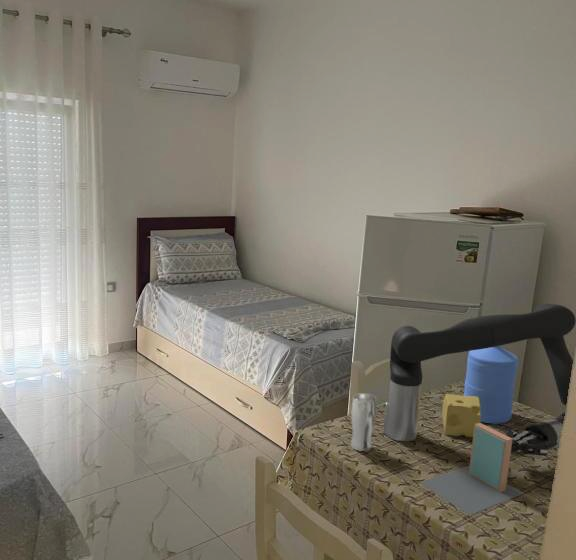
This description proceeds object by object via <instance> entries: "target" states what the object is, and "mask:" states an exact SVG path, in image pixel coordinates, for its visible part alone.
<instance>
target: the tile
mask: <svg viewBox="0 0 576 560" xmlns="http://www.w3.org/2000/svg"><path fill="white" fill-rule="evenodd" d="M511 446H512V438H510V437H508V436H506V434H504V433H503V432H502V433H501V432H500V431H498V430H496V429H493V428H491V427H490V426H487V425H485V424H483V423H482V422H480V423H477V424H475V426H474V434H473V437H472V444H471V450H470V451H471V454H470V460H469V465H470V468H469V474H470V475H472V476H474V477H475V478H477V479H479V480H480V481H482V482H484V483H485V484H487V485H489V486H490V487H492V488H494V489H496V490H497V491H499V492H503V491H505V490H506V484H508V474H509V469H510V459H511V453H512V452H511Z"/></svg>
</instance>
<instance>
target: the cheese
mask: <svg viewBox="0 0 576 560" xmlns="http://www.w3.org/2000/svg"><path fill="white" fill-rule="evenodd" d="M441 410H442V413H441V414H442V416H441V417H442V426H443V429H444V435H445V436H451V437H452V436H453V437H461V436H464V437H465V438H469V437H470V438H471V437H472V438H473V434H474V426H475V424H477V423H482V422H481V414H480V402H479V398H478V397H477V396H464V395H459V394H450V393H446V394H445V395H444V397H443V403H442V409H441Z"/></svg>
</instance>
